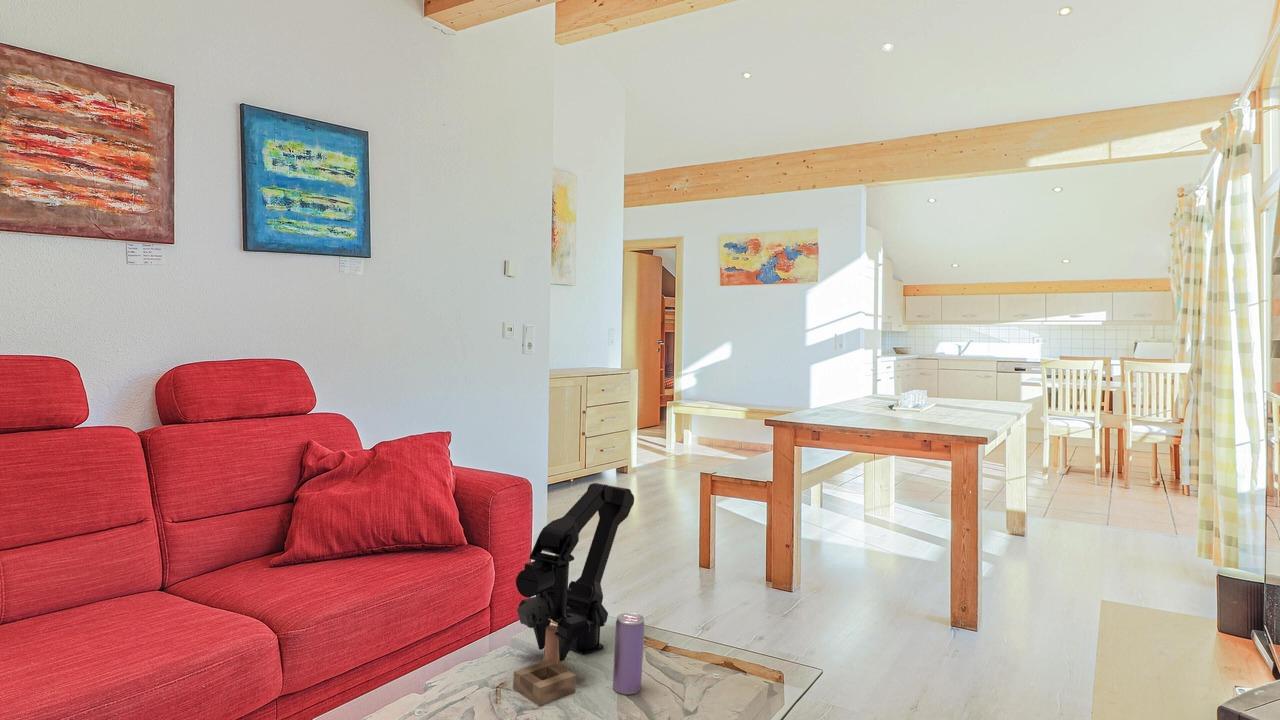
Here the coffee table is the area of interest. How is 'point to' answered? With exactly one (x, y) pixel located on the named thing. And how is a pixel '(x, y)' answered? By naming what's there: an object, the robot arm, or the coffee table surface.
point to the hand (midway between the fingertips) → (551, 655)
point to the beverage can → (628, 653)
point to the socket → (544, 682)
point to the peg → (551, 644)
